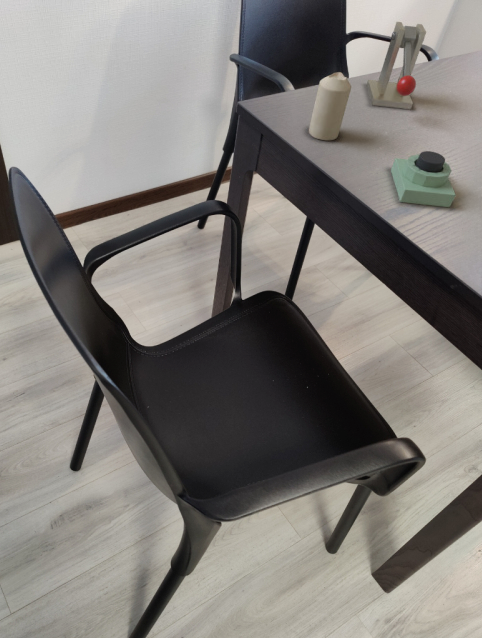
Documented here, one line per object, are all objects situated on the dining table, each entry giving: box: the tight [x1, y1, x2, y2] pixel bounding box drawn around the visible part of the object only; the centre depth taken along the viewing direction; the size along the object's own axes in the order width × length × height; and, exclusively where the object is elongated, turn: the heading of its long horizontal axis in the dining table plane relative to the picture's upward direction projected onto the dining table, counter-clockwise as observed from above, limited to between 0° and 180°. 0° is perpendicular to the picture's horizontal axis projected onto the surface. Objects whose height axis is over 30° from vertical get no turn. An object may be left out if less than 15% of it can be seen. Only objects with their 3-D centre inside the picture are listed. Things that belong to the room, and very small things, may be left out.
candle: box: [308, 71, 352, 141], centre depth 90 cm, size 6×6×10 cm
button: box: [416, 150, 446, 173], centre depth 80 cm, size 4×4×2 cm
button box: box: [390, 153, 456, 208], centre depth 82 cm, size 8×10×4 cm
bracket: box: [366, 21, 427, 110], centre depth 101 cm, size 10×8×13 cm
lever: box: [396, 25, 417, 96], centre depth 96 cm, size 14×3×3 cm, turn 175°
